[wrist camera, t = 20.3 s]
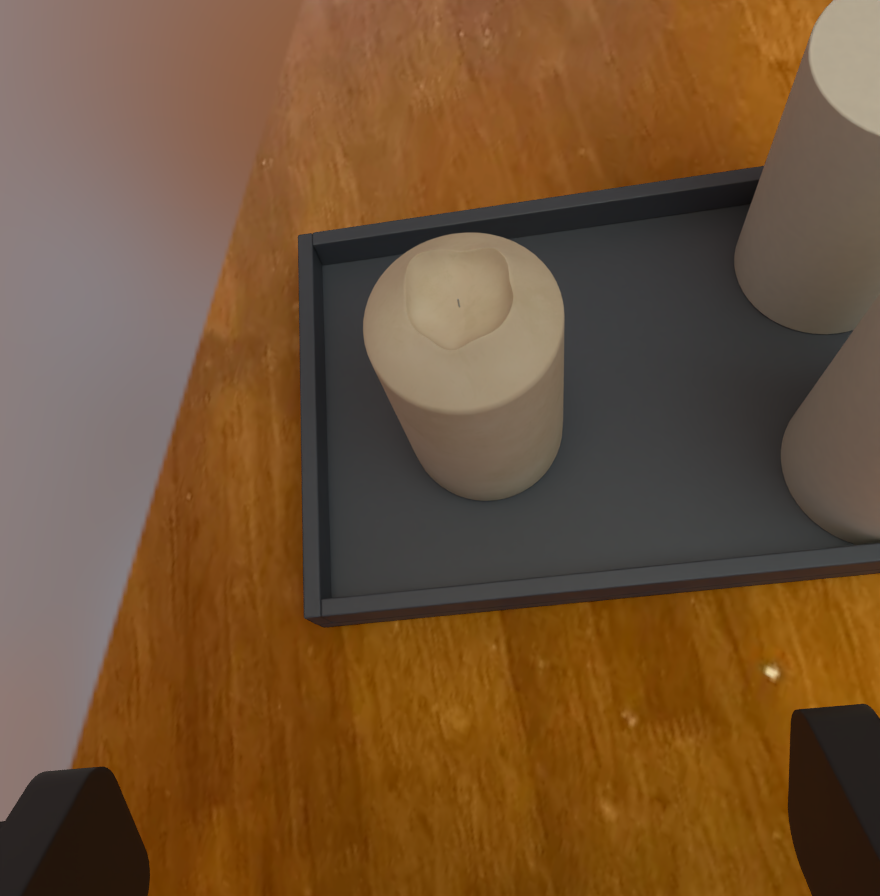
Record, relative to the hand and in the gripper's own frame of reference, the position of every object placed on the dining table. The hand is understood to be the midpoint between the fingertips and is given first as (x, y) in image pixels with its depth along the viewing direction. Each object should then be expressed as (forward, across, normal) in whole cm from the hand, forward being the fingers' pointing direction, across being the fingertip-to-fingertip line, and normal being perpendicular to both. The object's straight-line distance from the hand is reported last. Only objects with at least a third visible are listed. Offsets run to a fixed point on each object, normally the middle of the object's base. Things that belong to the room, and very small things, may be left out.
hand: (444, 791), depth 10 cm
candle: (+21, 0, +4) cm, 21 cm away
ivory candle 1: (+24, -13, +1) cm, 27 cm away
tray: (+22, -6, +4) cm, 23 cm away
